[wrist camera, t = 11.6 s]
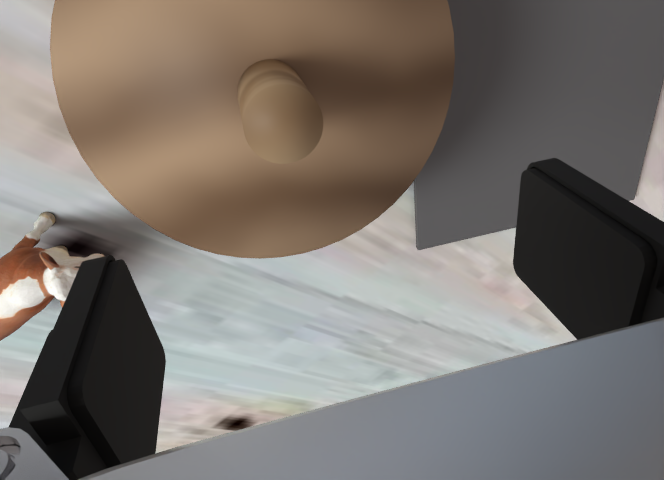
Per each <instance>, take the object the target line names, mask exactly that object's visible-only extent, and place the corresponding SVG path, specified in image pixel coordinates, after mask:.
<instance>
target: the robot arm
mask: <svg viewBox="0 0 664 480" xmlns="http://www.w3.org/2000/svg"><path fill="white" fill-rule="evenodd" d="M513 265H514V269H515V272H516V274H517V276H518V277H519V278H520V279H521V280H522V281H523V282H524V283H525V284H526V285H527V286H528V288H529V289H530V290H531V291H532V292H533V293H534V294H535V295H536V296H537V297H538V298H539V299H540V300H541V301H542V302H543V303H544V305H545V306H546V307H547V308H548V309H549V310H550V311H551V312H552V313H553V314H554V315H555V316H556V317H557V318H558V319H559V321H560V322H561V323H562V324H563V325H564V326H565V327H566V328H567V329H568V330H569V331H570V332H571V333H572V334H573V335H574V336H575V338H576V339H577V340H575V341H571V342H567V343H563V344H559V345H555V346H552V347H548V348H544V349H540V350H536V351H532V352H529V353H525V354H521V355H517V356H513V357H509V358H505V359H502V360H498V361H494V362H490V363H487V364H483V365H479V366H475V367H471V368H468V369H464V370H460V371H456V372H453V373H449V374H445V375H441V376H437V377H434V378H430V379H426V380H422V381H419V382H415V383H411V384H407V385H404V386H400V387H396V388H393V389H389V390H385V391H381V392H378V393H374V394H370V395H366V396H363V397H359V398H355V399H351V400H348V401H344V402H340V403H337V404H333V405H329V406H326V407H322V408H318V409H315V410H311V411H307V412H304V413H300V414H296V415H293V416H289V417H285V418H282V419H278V420H274V421H271V422H267V423H263V424H260V425H256V426H252V427H249V428H245V429H241V430H237V431H234V432H230V433H226V434H223V435H219V436H216V437H212V438H208V439H205V440H201V441H197V442H194V443H190V444H186V445H183V446H179V447H175V448H172V449H169V450H166V451H162V452H159V453H156V454H155V451H156V443H157V434H158V425H159V416H160V407H161V399H162V390H163V381H164V372H165V362H166V360H165V353H164V349H163V346H162V344H161V342H160V340H159V337H158V335H157V333H156V331H155V328H154V326H153V324H152V322H151V319H150V317H149V315H148V313H147V310H146V308H145V306H144V304H143V301H142V299H141V297H140V295H139V292H138V290H137V288H136V286H135V283H134V281H133V279H132V277H131V274H130V272H129V270H128V268H127V265H126V264H125V262H124V261H123V260H122V259H121V260H115V259H114V257H113V256H111V255H109V256H104V257H99V258H95V259H90V260H86V261H83V262H82V263H81V265H80V267H79V270H78V272H77V274H76V277H75V279H74V281H73V284H72V286H71V289H70V291H69V293H68V296H67V298H66V300H65V303H64V305H63V308H62V310H61V312H60V315H59V317H58V319H57V322H56V324H55V327H54V329H53V330H51V332H50V333H49V335H48V337H47V339H46V341H45V344H44V346H43V348H42V351H41V353H40V355H39V358H38V360H37V362H36V365H35V367H34V369H33V372H32V374H31V376H30V379H29V381H28V383H27V386H26V388H25V390H24V393H23V395H22V397H21V400H20V402H19V404H18V407H17V409H16V411H15V414H14V416H13V418H12V421H11V423H10V425H9V427H8V428H3V429H0V480H664V222H663V221H661V220H659V219H658V218H656V217H654V216H653V215H651V214H649V213H648V212H646V211H644V210H643V209H641V208H639V207H638V206H636V205H634V204H633V203H631V202H629V201H628V200H626V199H624V198H623V197H621V196H619V195H618V194H616V193H614V192H613V191H611V190H609V189H608V188H606V187H604V186H603V185H601V184H599V183H598V182H596V181H594V180H593V179H591V178H589V177H588V176H586V175H584V174H583V173H581V172H579V171H578V170H576V169H574V168H573V167H571V166H569V165H568V164H566V163H564V162H563V161H561V160H559V159H557V158H551V159H546V160H541V161H537V162H532V163H530V164H529V165H528V167H527V170H524V171H523V172H522V174H521V181H520V192H519V203H518V214H517V225H516V236H515V248H514V259H513Z"/></svg>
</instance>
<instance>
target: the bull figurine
mask: <svg viewBox="0 0 664 480" xmlns="http://www.w3.org/2000/svg"><path fill="white" fill-rule="evenodd" d="M54 223H55V216H54V215H53V214H51V213H49V212H43V213H41V214H40V216H39V218H38V220H37V221H36V222H35V223H34V230H33V231H31V232H29V233H28V234H26V235H25V237H24V238H23V239H22V240H21V241H20V242H19V243H18V244H17V245H15V247H14V248H13V250H12V251H11V252H9V253H8V254H6V255H4V256H3V257H2V258H1V259H0V341H1V340H2V339H4V338H5V337H7V336H9V335H10V334H12V333H13V332H15V331H16V330H17V329H19V328H20V327H21V326H22V325H23V324H24V323H25V322H27V321H28V320H29V319H30V318H32V317H33V316H34V315H36V314H37V313H39V312H40V311H41V310H43V309H44V308H45V307H46V306H47V305H48V303H49V302H50V301H51V300H52V299H53V298H54V297H55V298H56V299H58V300H60V303H61V306H62V308H63V305H64V303H65V300H66V298H67V296H68V293H69V291H70V289H71V286H72V284H73V281H74V279H75V277H76V274H77V272H78V270H79V267H80V265H81V263H82V262H83V261H86V260H90V259H95V258H99V257H104V255H102V254H92V255H90V256H88V257H86V258H82V257H71V256H69V254H68V250H67V248H66V247H65V246H56V247H53V248H49V249H42V248H33V247H34V246H35V245H36V244H38V242H39V241H40V236H41V234H42V233H44V232H45V231H47V230H48V229H49V228H50V227H51V226H52V225H53V224H54Z"/></svg>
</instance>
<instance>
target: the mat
mask: <svg viewBox="0 0 664 480" xmlns="http://www.w3.org/2000/svg"><path fill="white" fill-rule="evenodd" d="M447 1H448V4H449V9H450V14H451V20H452V26H453V32H454V50H455V65H454V79H453V87H452V93H451V98H450V103H449V108H448V111H447V114H446V118H445V121H444V124H443V127H442V130H441V133H440V135H439V137H438V140H437V142H436V144H435V146H434V149H433V151H432V153H431V154H430V156H429V158H428V160H427V161H426V163H425V165H424V166H423V168H422V170H421V171H420V173H419V174H418V175H417V177H416V178H415V179H414V197H415V223H416V247H417V249H418V250H422V249H426V248H430V247H434V246H439V245H443V244H447V243H451V242H456V241H460V240H464V239H468V238H473V237H477V236H481V235H485V234H489V233H494V232H498V231H502V230H506V229H511V228H515V227H516V225H517V214H518V203H519V192H520V181H521V174H522V172H523V171H524V170H527V167H528V165H529V164H530V163H532V162H537V161H541V160H546V159H551V158H557V159H559V160H561V161H563V162H564V163H566V164H568V165H569V166H571V167H573V168H574V169H576V170H578V171H579V172H581V173H583V174H584V175H586V176H588V177H589V178H591V179H593V180H594V181H596V182H598V183H599V184H601V185H603V186H604V187H606V188H608V189H609V190H611V191H613V192H614V193H616V194H618V195H619V196H621V197H623V198H624V199H626V200H628V201H629V200H634V198H635V194H636V190H637V186H638V182H639V178H640V174H641V170H642V166H643V161H644V157H645V153H646V149H647V145H648V141H649V137H650V133H651V129H652V125H653V121H654V117H655V112H656V108H657V104H658V100H659V96H660V92H661V88H662V84H663V80H664V0H447Z"/></svg>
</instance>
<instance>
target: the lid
mask: <svg viewBox="0 0 664 480" xmlns="http://www.w3.org/2000/svg"><path fill="white" fill-rule="evenodd" d="M50 52H51V64H52V75H53V81H54V85H55V90H56V94H57V98H58V103H59V107H60V109H61V112H62V115H63V117H64V120H65V123H66V125H67V128H68V131H69V133H70V135H71V137H72V139H73V141H74V143H75V145H76V147H77V148H78V150H79V152H80V154H81V156H82V158H83V159H84V161H85V162H86V163H87V165H88V166H89V168H90V169H91V171H92V172H93V173H94V175H95V176H96V178H97V179H98V180H99V181H100V182H101V184H102V185H103V186H104V187H105V188H106V189H107V190H108V191H109V193H110V194H111V195H112V196H113V197H114V198H115V199H116V200H117V201H118V202H119V203H121V204H122V205H123V206H124V207H125V208H126V209H127V210H129V211H130V212H131V213H132V214H133V215H135V216H136V217H137V218H139V219H140V220H142V221H143V222H145V223H146V224H148V225H149V226H150V227H152V228H153V229H155V230H157V231H159V232H161V233H163V234H165V235H166V236H168V237H170V238H172V239H174V240H176V241H179V242H181V243H184V244H186V245H189V246H191V247H194V248H197V249H201V250H204V251H208V252H212V253H215V254H220V255H227V256H233V257H241V258H274V257H285V256H290V255H296V254H302V253H306V252H309V251H312V250H316V249H319V248H323V247H325V246H328V245H330V244H333V243H335V242H337V241H340V240H342V239H344V238H346V237H348V236H350V235H351V234H353V233H355V232H357V231H359V230H361V229H362V228H363V227H365V226H366V225H368V224H369V223H371V222H372V221H373V220H375V219H376V218H378V217H379V216H380V215H381V214H382V213H384V212H385V211H386V210H387V209H388V208H389V207H390V206H392V205H393V204H394V203H395V202H396V201H397V200H398V198H399V197H400V196H401V195H402V194H403V193H404V192H405V191H406V190H407V189H408V188H409V186H410V185H411V184H412V182H413V181H414V179H415V178H416V177H417V175H418V174H419V173H420V171H421V170H422V168H423V166H424V165H425V163H426V161H427V160H428V158H429V156H430V154H431V153H432V151H433V149H434V146H435V144H436V142H437V140H438V137H439V135H440V133H441V130H442V127H443V124H444V121H445V118H446V114H447V111H448V108H449V103H450V98H451V93H452V87H453V79H454V65H455V50H454V32H453V26H452V20H451V14H450V9H449V4H448V1H447V0H55V3H54V8H53V13H52V21H51V40H50Z"/></svg>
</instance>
